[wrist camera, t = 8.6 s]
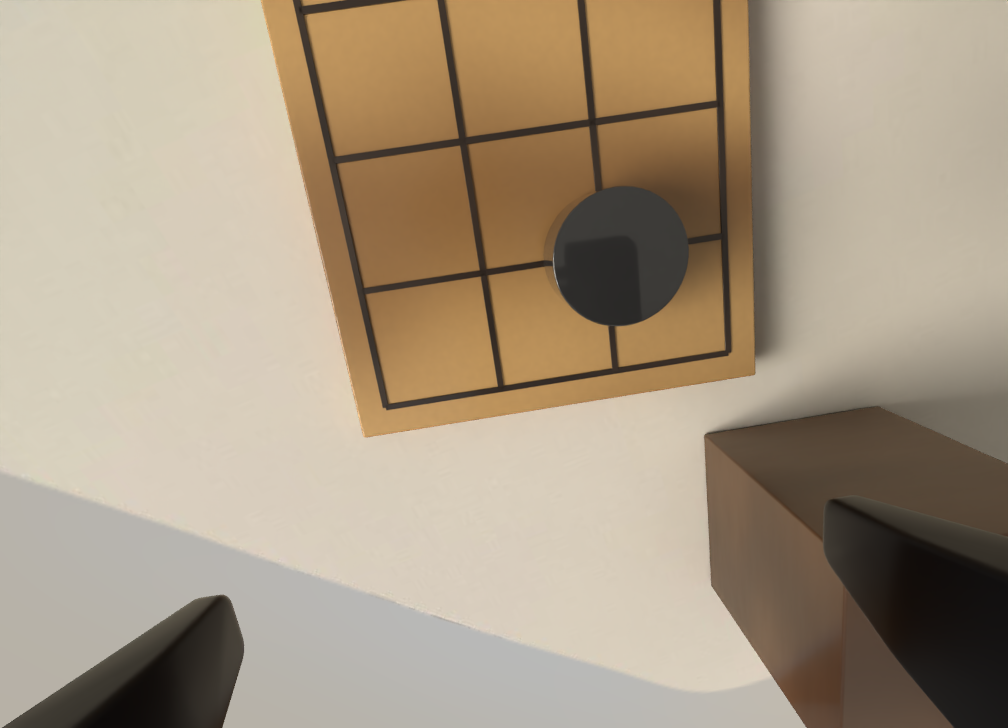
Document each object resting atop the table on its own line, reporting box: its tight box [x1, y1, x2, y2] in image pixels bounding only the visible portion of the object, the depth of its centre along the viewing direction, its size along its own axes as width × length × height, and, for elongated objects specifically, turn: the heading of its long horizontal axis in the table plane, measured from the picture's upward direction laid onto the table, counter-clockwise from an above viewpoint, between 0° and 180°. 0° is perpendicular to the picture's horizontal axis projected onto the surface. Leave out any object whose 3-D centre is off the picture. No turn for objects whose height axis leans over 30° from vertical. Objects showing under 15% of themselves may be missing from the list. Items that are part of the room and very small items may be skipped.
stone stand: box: [704, 406, 1008, 728], centre depth 18 cm, size 7×7×8 cm
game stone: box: [543, 186, 689, 327], centre depth 16 cm, size 4×4×2 cm
